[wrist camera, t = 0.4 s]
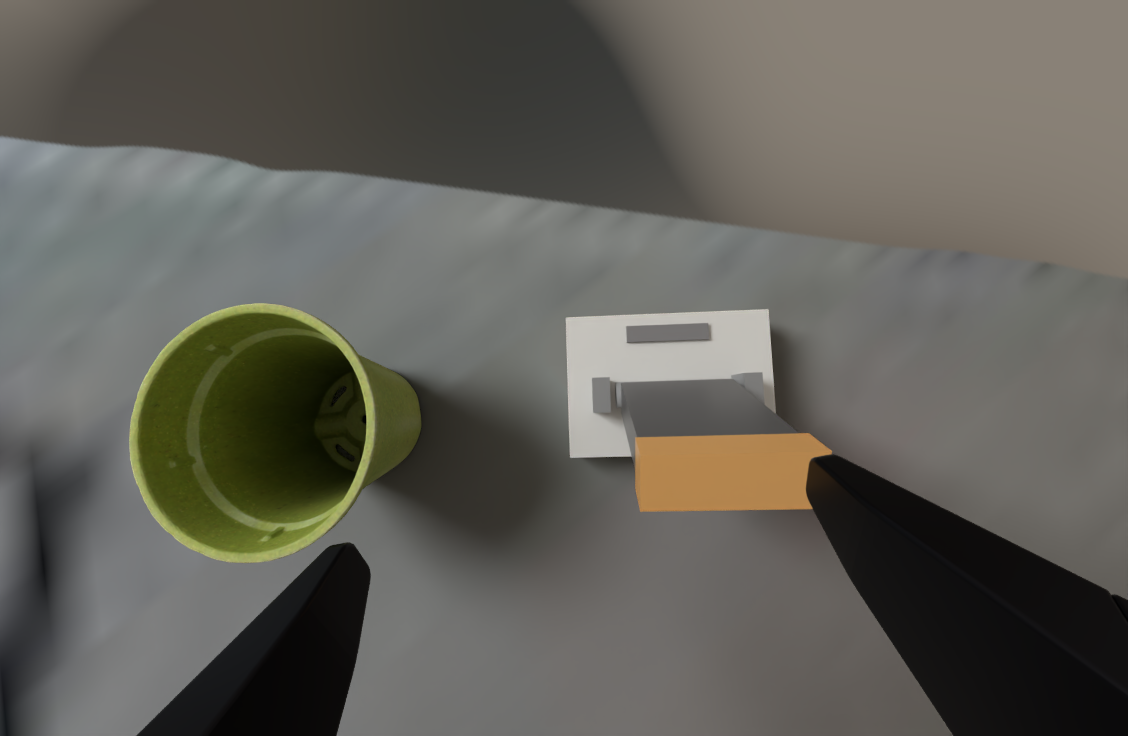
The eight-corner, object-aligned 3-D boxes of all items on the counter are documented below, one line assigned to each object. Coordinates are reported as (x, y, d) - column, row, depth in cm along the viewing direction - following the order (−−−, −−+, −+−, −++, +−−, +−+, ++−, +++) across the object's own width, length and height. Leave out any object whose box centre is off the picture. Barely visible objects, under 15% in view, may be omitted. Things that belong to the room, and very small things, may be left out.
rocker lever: (727, 405, 20) (827, 509, 12) (615, 408, 20) (636, 511, 12) (729, 369, 20) (835, 450, 11) (614, 373, 20) (636, 455, 12)
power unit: (757, 447, 22) (796, 457, 18) (571, 451, 23) (568, 462, 19) (748, 319, 23) (784, 300, 19) (568, 326, 23) (564, 309, 19)
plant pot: (485, 396, 23) (425, 392, 15) (390, 538, 23) (272, 618, 14) (355, 308, 24) (227, 256, 16) (262, 443, 24) (79, 465, 15)
